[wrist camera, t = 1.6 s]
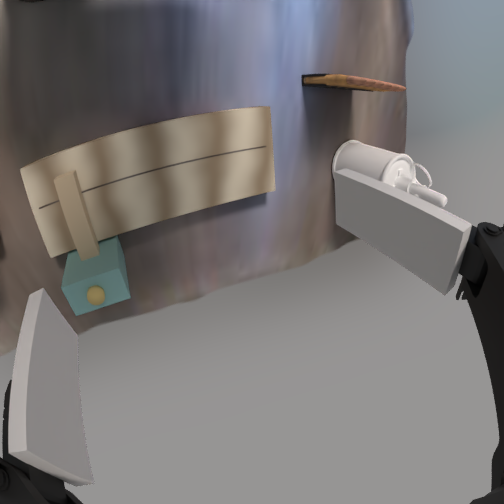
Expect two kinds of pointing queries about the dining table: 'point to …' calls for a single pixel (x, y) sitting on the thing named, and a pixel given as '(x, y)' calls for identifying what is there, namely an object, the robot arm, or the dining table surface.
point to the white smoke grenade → (385, 169)
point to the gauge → (89, 255)
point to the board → (155, 173)
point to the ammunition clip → (348, 83)
